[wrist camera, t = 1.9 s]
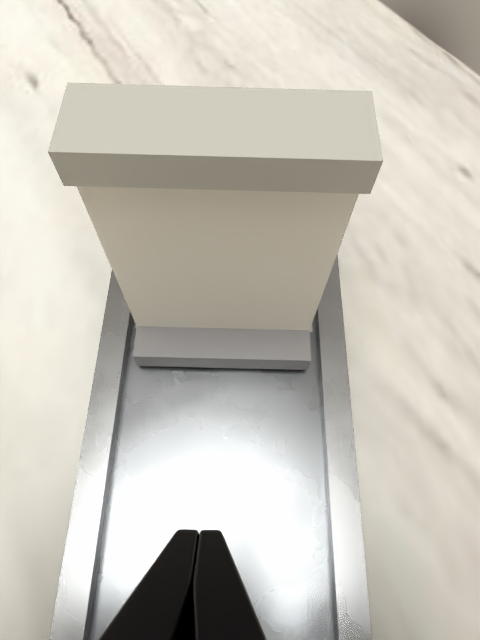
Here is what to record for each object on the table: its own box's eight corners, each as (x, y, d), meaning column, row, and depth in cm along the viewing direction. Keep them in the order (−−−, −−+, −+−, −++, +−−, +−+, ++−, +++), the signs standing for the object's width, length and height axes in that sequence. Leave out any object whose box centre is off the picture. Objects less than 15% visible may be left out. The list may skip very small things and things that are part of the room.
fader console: (363, 689, 18) (384, 711, 16) (59, 683, 18) (32, 705, 16) (324, 211, 29) (333, 179, 26) (134, 206, 29) (124, 173, 26)
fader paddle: (311, 370, 22) (388, 198, 11) (133, 365, 22) (37, 188, 11) (306, 279, 24) (367, 63, 13) (145, 275, 24) (75, 54, 13)
